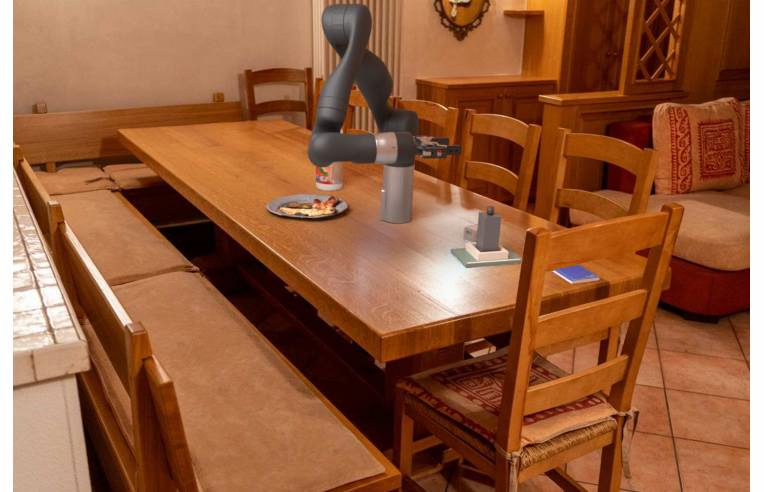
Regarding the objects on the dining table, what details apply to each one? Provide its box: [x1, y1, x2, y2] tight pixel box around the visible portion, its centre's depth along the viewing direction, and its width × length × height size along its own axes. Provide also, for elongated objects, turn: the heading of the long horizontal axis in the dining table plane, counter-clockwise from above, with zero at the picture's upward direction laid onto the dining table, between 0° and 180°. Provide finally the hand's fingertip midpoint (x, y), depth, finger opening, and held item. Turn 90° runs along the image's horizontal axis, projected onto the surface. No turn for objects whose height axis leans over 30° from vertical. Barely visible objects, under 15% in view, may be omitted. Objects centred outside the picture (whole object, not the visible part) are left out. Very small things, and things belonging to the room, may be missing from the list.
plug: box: [476, 205, 502, 252], centre depth 180 cm, size 5×4×13 cm
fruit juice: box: [315, 127, 344, 192], centre depth 235 cm, size 9×9×28 cm
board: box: [449, 242, 523, 269], centre depth 182 cm, size 16×11×3 cm
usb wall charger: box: [463, 223, 478, 243], centre depth 195 cm, size 4×7×4 cm, turn 130°
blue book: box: [552, 264, 601, 285], centre depth 175 cm, size 2×8×12 cm
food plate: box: [266, 193, 350, 219], centre depth 215 cm, size 25×23×4 cm
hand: (454, 145), depth 170 cm, fingers open, 8 cm apart
